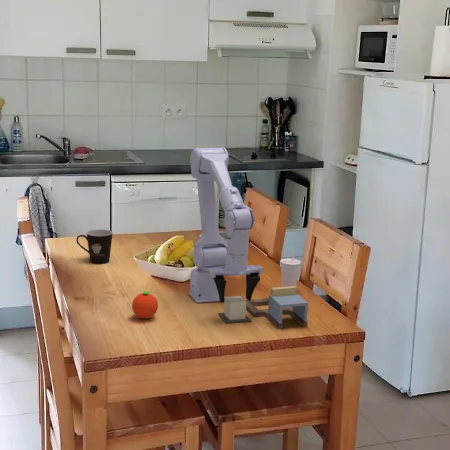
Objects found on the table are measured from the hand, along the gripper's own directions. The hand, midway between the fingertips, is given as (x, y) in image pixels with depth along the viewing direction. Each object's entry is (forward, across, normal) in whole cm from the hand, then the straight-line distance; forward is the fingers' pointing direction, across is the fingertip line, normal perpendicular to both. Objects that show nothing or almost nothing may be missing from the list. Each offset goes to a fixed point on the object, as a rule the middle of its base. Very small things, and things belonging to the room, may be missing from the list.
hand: (235, 300), depth 192 cm
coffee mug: (+6, -28, +60) cm, 67 cm away
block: (+5, 0, 0) cm, 5 cm away
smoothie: (+5, +24, +17) cm, 30 cm away
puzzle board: (+5, +13, 0) cm, 14 cm away
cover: (+4, +13, -6) cm, 15 cm away
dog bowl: (+6, +18, +65) cm, 67 cm away
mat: (+5, 0, 0) cm, 5 cm away
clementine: (+5, -24, +6) cm, 25 cm away
